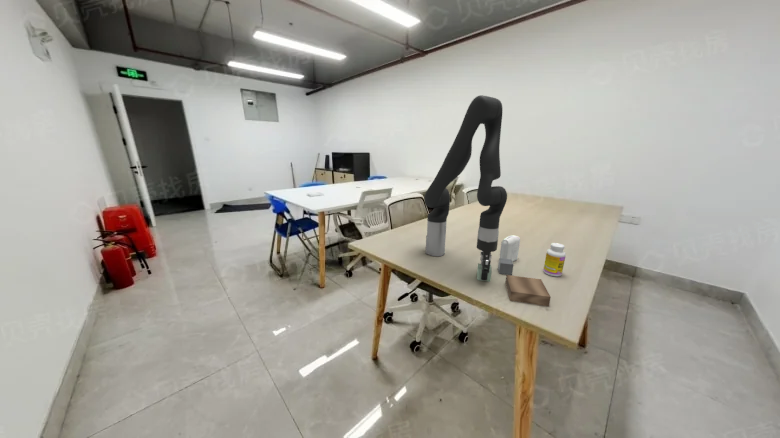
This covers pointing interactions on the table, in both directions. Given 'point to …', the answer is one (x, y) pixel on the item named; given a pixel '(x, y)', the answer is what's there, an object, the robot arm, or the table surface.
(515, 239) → the photo printer
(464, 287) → the table surface
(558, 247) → the supplement bottle
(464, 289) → the table surface
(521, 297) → the walnut block
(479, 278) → the sage cube
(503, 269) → the charcoal cube
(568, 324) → the table surface
